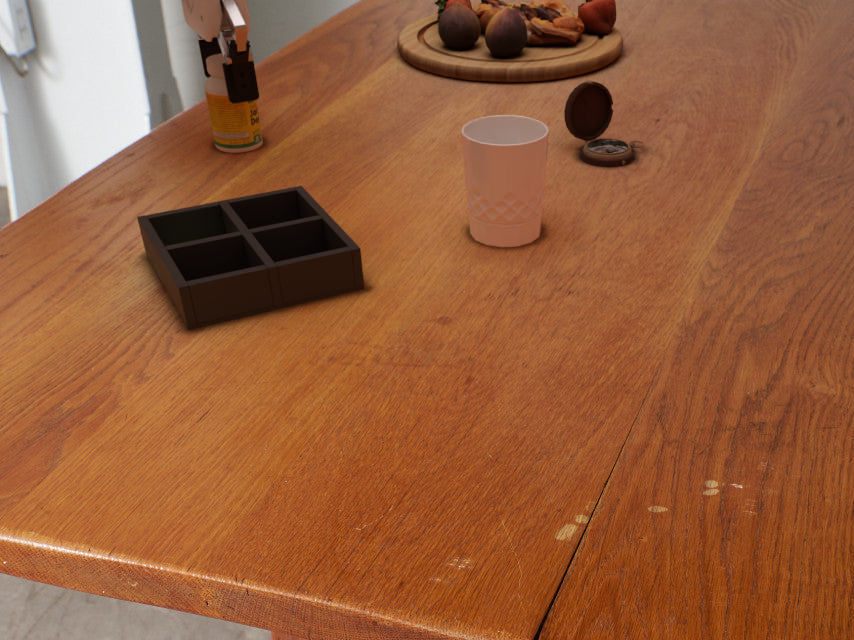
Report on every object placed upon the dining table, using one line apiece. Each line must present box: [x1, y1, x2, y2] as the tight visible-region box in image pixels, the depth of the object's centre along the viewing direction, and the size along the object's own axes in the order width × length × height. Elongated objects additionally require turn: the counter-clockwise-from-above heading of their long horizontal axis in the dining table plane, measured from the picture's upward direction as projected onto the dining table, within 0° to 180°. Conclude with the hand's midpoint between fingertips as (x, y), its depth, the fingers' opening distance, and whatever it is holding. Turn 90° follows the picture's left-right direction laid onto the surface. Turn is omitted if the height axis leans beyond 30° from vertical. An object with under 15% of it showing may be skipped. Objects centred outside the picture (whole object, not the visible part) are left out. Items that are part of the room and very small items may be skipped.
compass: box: [563, 80, 646, 168], centre depth 111 cm, size 8×8×7 cm
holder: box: [136, 185, 365, 331], centre depth 89 cm, size 15×15×4 cm
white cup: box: [460, 114, 550, 248], centre depth 94 cm, size 8×8×10 cm
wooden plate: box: [396, 0, 624, 83], centre depth 142 cm, size 32×32×8 cm
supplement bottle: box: [203, 54, 264, 154], centre depth 112 cm, size 5×5×10 cm
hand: (231, 88), depth 111 cm, fingers open, 9 cm apart
